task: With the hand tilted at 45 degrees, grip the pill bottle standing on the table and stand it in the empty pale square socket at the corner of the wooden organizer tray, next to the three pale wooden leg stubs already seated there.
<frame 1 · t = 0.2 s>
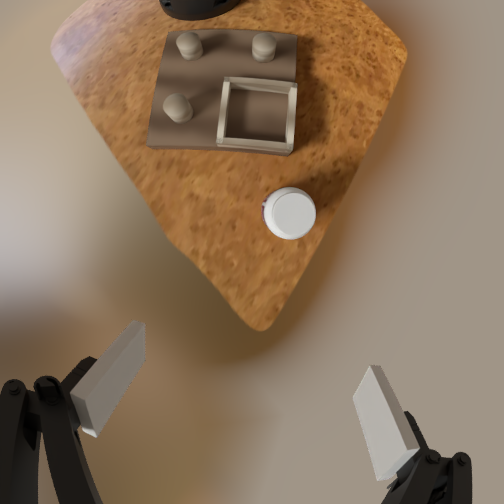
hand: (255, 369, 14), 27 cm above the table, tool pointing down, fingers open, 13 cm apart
wooden organizer tray: (225, 89, 36), on the table
pill bottle: (282, 210, 40), on the table
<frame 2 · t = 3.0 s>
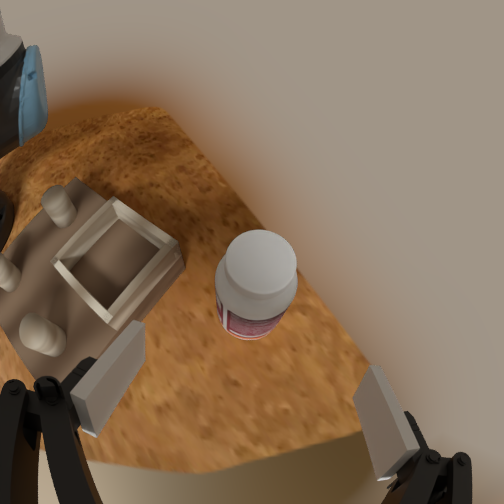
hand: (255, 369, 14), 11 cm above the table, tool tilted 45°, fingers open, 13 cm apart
wooden organizer tray: (69, 284, 26), on the table
pill bottle: (248, 311, 27), on the table
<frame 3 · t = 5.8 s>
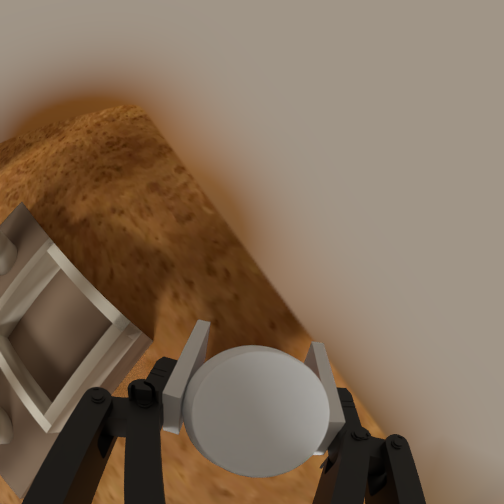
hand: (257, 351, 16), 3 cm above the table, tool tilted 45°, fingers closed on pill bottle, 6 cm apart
wooden organizer tray: (15, 346, 16), on the table
pill bottle: (242, 405, 17), on the table, touching gripper
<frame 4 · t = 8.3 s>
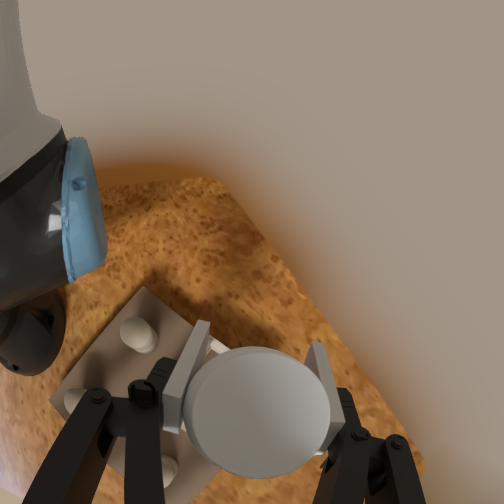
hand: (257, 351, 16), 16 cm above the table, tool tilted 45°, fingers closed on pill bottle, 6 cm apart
wooden organizer tray: (158, 404, 27), on the table
pill bottle: (242, 406, 17), point 13 cm above the table, touching gripper
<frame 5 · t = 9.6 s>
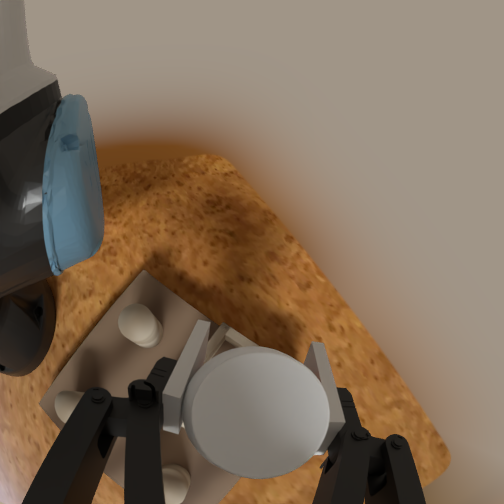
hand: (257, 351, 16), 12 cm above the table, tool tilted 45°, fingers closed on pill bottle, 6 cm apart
wooden organizer tray: (164, 405, 24), on the table
pill bottle: (242, 406, 17), point 8 cm above the table, touching gripper
when the fingers open (8 cm above the table, at t = 10.9 s): pill bottle drops 1 cm, resting on wooden organizer tray.
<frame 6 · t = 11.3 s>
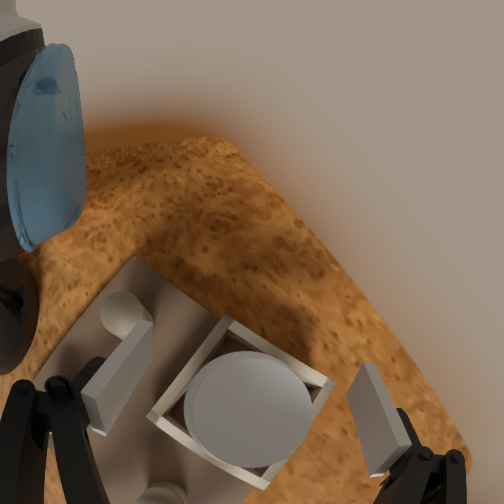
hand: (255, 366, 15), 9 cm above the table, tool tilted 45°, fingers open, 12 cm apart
wooden organizer tray: (156, 413, 20), on the table
pill bottle: (239, 405, 19), point 3 cm above the table, touching wooden organizer tray
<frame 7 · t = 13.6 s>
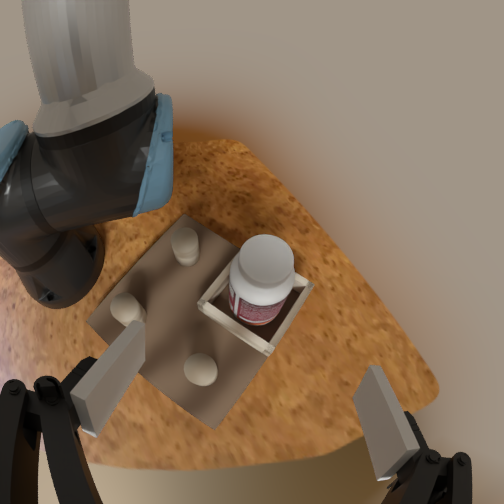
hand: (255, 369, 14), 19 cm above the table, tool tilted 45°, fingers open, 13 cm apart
wooden organizer tray: (196, 317, 34), on the table
pill bottle: (254, 302, 33), point 3 cm above the table, touching wooden organizer tray
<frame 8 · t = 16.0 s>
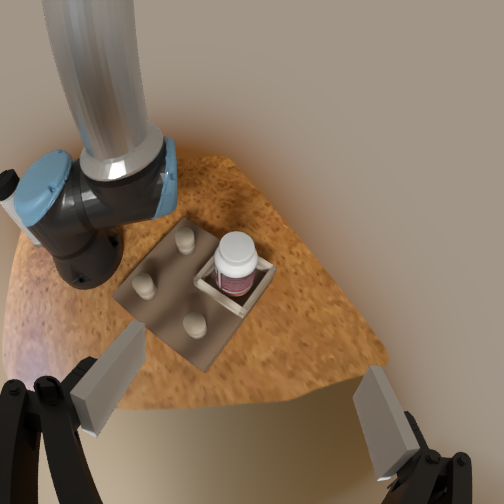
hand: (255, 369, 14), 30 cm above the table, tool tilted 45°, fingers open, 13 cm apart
wooden organizer tray: (192, 292, 47), on the table
pill bottle: (234, 280, 46), point 3 cm above the table, touching wooden organizer tray
travel mug: (43, 236, 49), on the table
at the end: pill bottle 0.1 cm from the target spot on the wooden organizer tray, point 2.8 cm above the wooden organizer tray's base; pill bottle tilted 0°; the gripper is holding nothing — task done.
